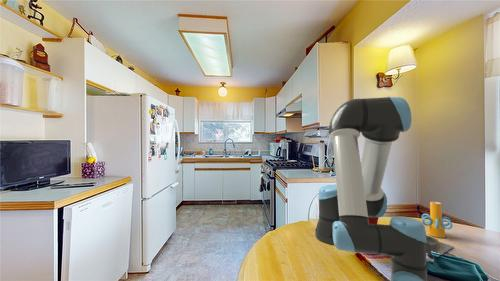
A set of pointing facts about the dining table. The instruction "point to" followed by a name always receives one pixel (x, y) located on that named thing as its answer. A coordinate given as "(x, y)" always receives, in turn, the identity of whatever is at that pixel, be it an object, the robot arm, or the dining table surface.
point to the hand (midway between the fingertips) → (405, 235)
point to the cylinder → (436, 221)
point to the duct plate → (437, 245)
